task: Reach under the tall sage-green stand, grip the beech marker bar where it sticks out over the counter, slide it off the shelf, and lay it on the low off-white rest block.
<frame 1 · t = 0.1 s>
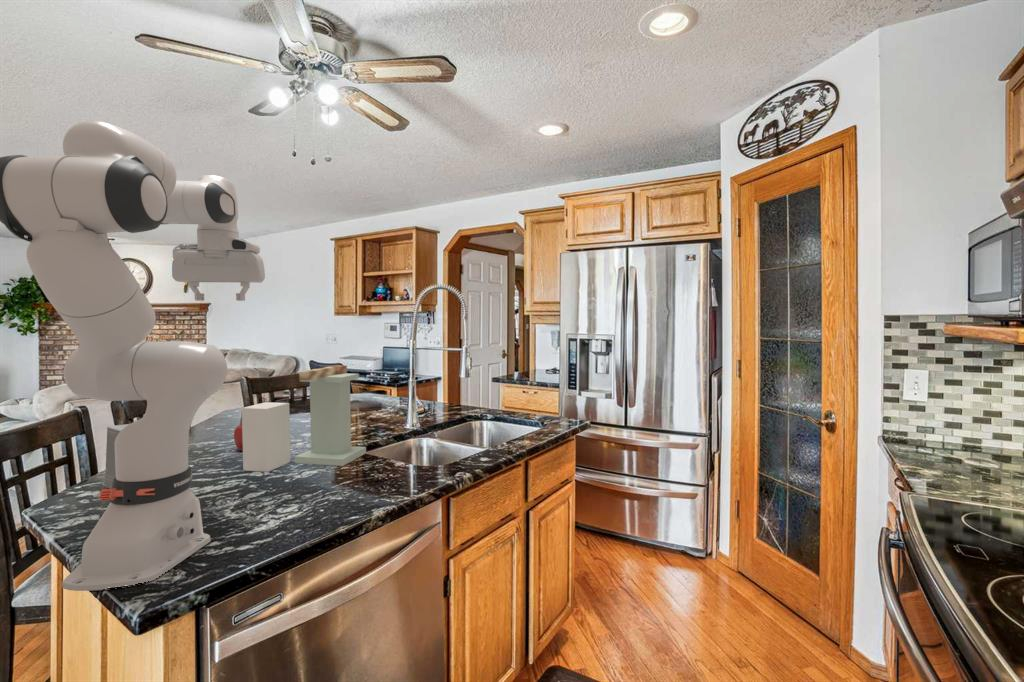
hand: (220, 300, 120), 48 cm above the countertop, tool pointing down, fingers open, 8 cm apart
vegetable: (252, 449, 161), on the countertop
rest block: (267, 465, 142), on the countertop
shelf stand: (331, 457, 150), on the countertop
marker bar: (321, 376, 145), point 26 cm above the countertop, touching shelf stand
skincare box: (128, 487, 125), on the countertop
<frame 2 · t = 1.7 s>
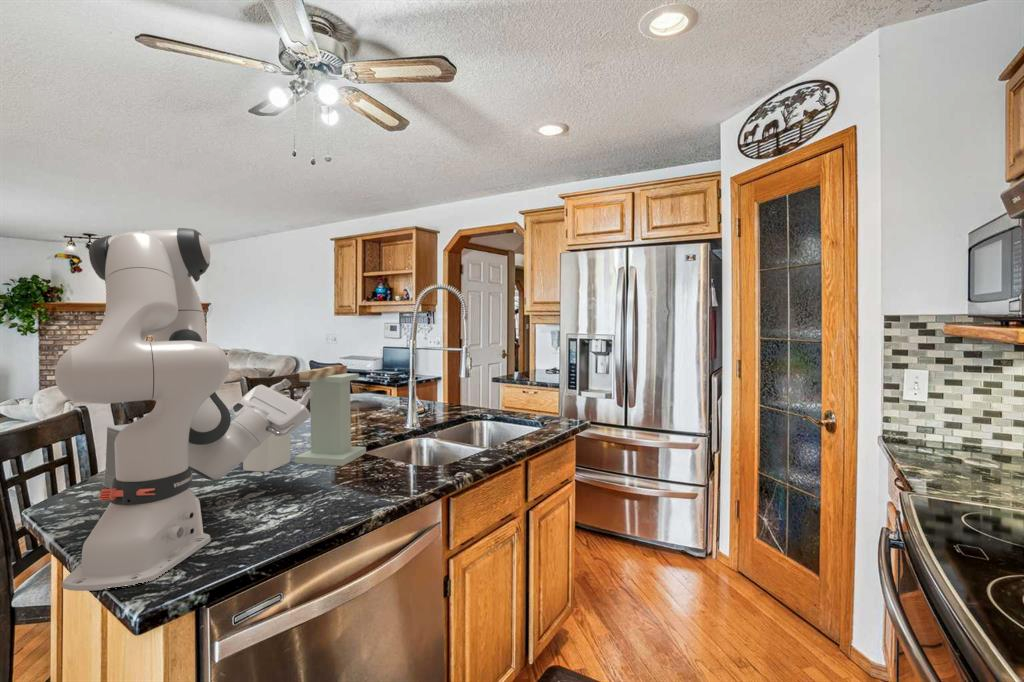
hand: (299, 386, 128), 25 cm above the countertop, tool pointing upward, fingers open, 8 cm apart
nothing on the countertop moved.
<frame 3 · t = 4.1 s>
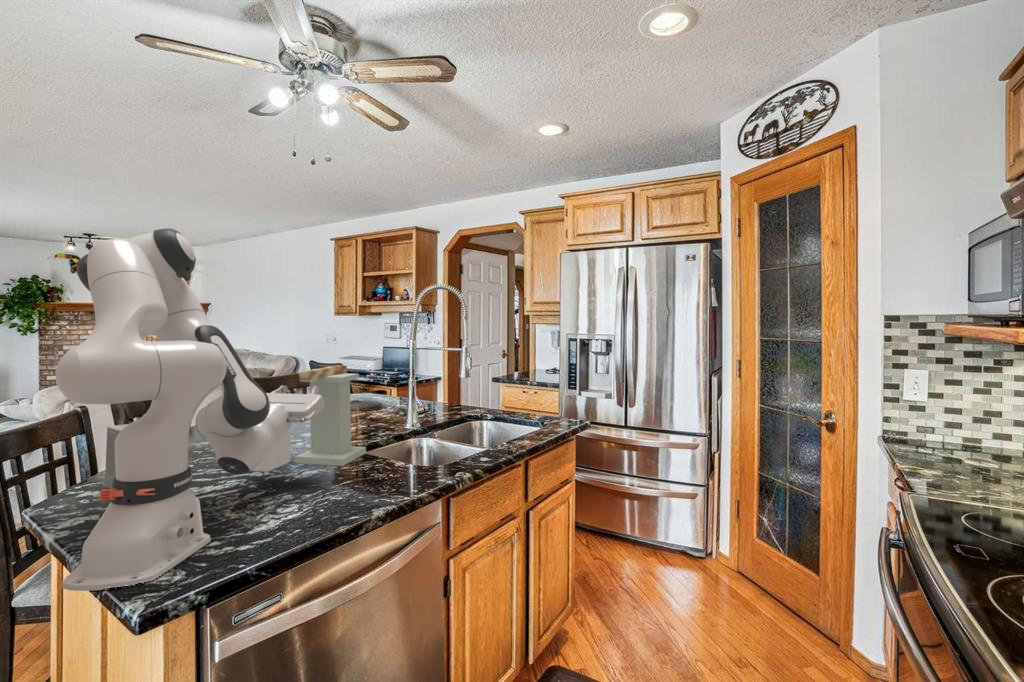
hand: (300, 387, 135), 24 cm above the countertop, tool pointing upward, fingers open, 8 cm apart
nothing on the countertop moved.
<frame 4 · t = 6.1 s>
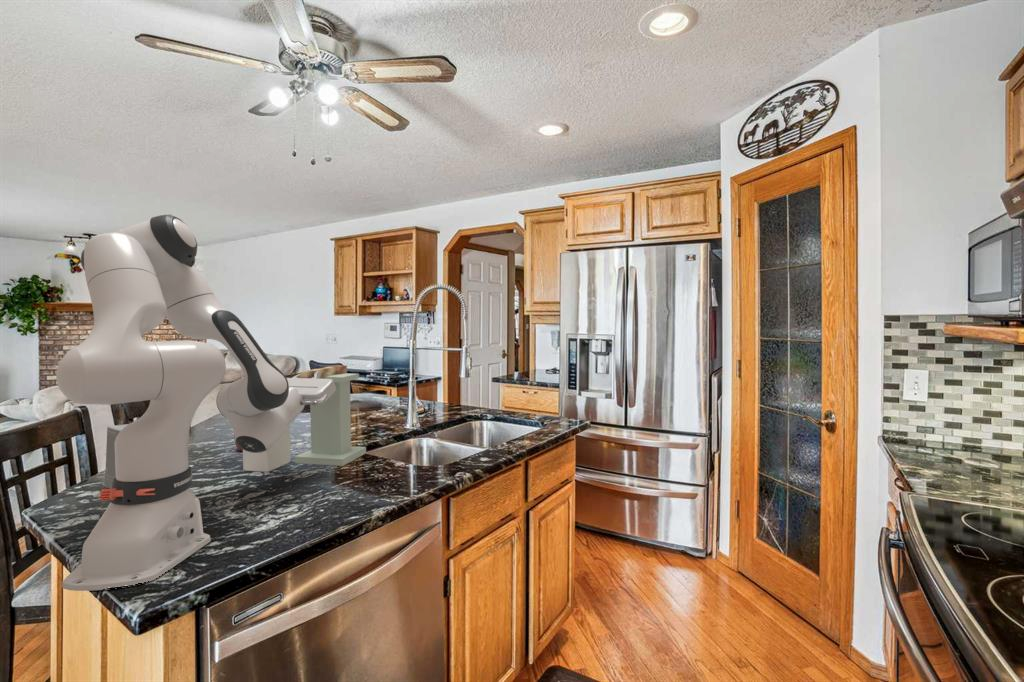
hand: (312, 372, 140), 28 cm above the countertop, tool pointing upward, fingers closed on marker bar, 2 cm apart
marker bar: (321, 376, 145), point 26 cm above the countertop, touching gripper, shelf stand
everything else where it was.
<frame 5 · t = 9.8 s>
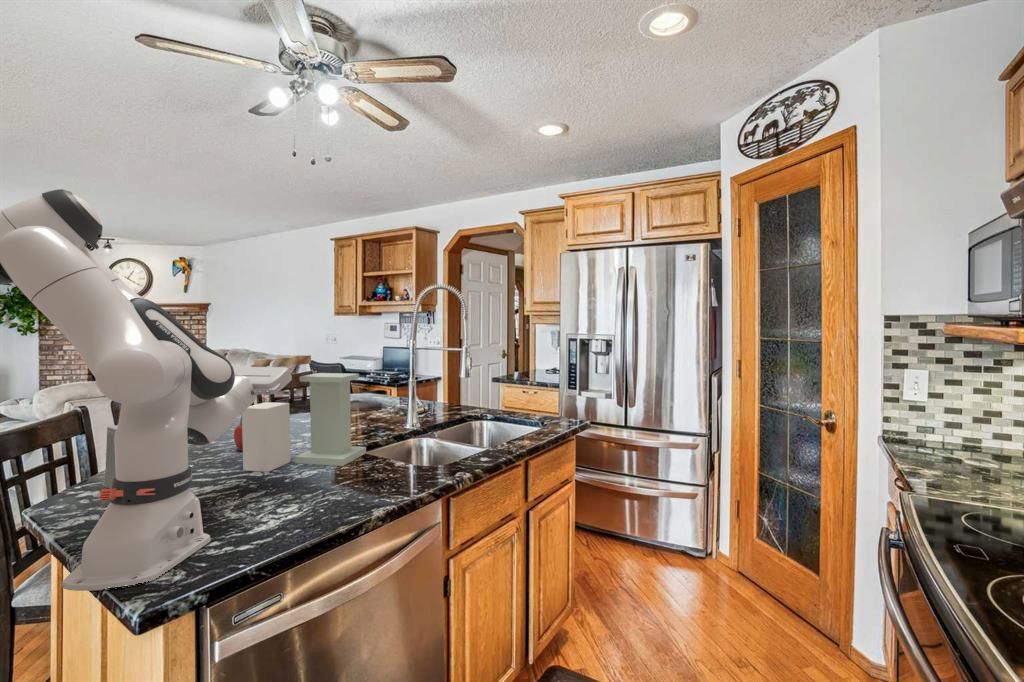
hand: (268, 361, 132), 32 cm above the countertop, tool pointing upward, fingers closed on marker bar, 2 cm apart
marker bar: (280, 366, 136), point 30 cm above the countertop, touching gripper
everything else where it was.
when the fingers open (21 cm above the countertop, at t = 13.3 s): marker bar drops 2 cm, resting on rest block.
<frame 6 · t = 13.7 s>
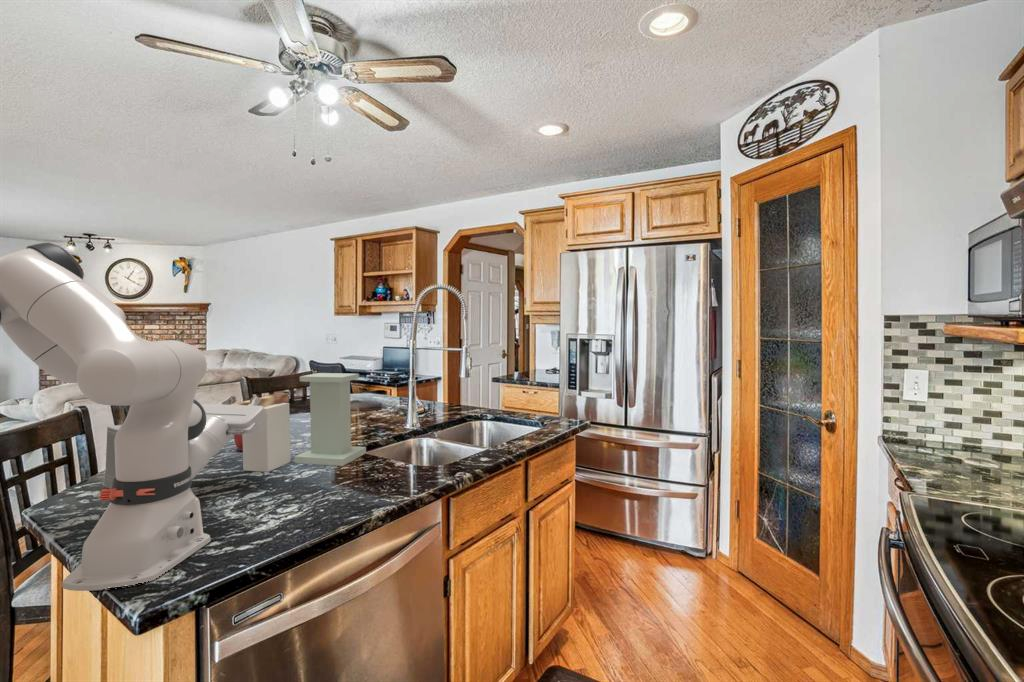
hand: (245, 398, 133), 21 cm above the countertop, tool pointing upward, fingers open, 6 cm apart
marker bar: (257, 407, 138), point 18 cm above the countertop, touching rest block
everything else where it was.
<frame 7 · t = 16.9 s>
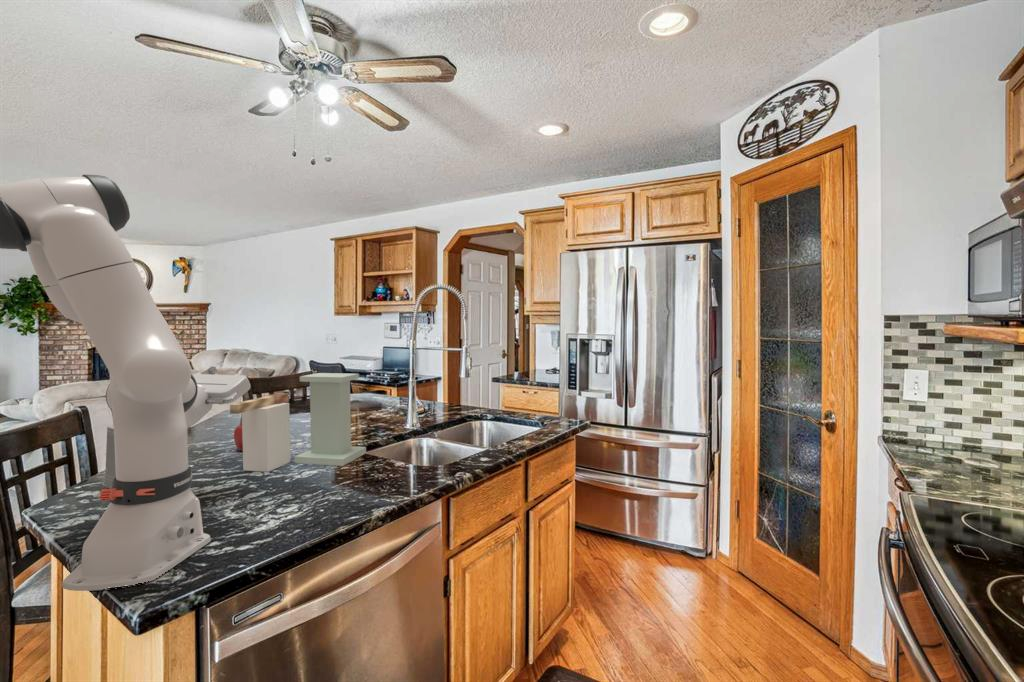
hand: (229, 368, 127), 30 cm above the countertop, tool pointing upward, fingers open, 8 cm apart
nothing on the countertop moved.
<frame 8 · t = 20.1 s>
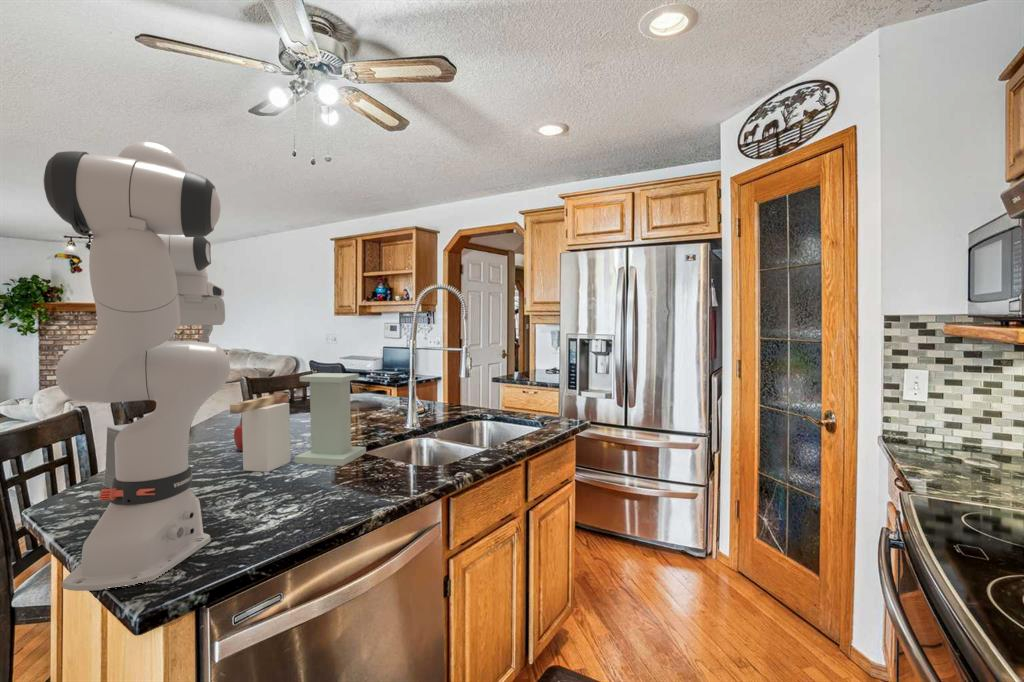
hand: (188, 343, 120), 37 cm above the countertop, tool pointing down, fingers open, 8 cm apart
nothing on the countertop moved.
at the end: marker bar 3.6 cm from the rest block (horizontally); marker bar point 18.0 cm above the countertop; the gripper is holding nothing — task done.
